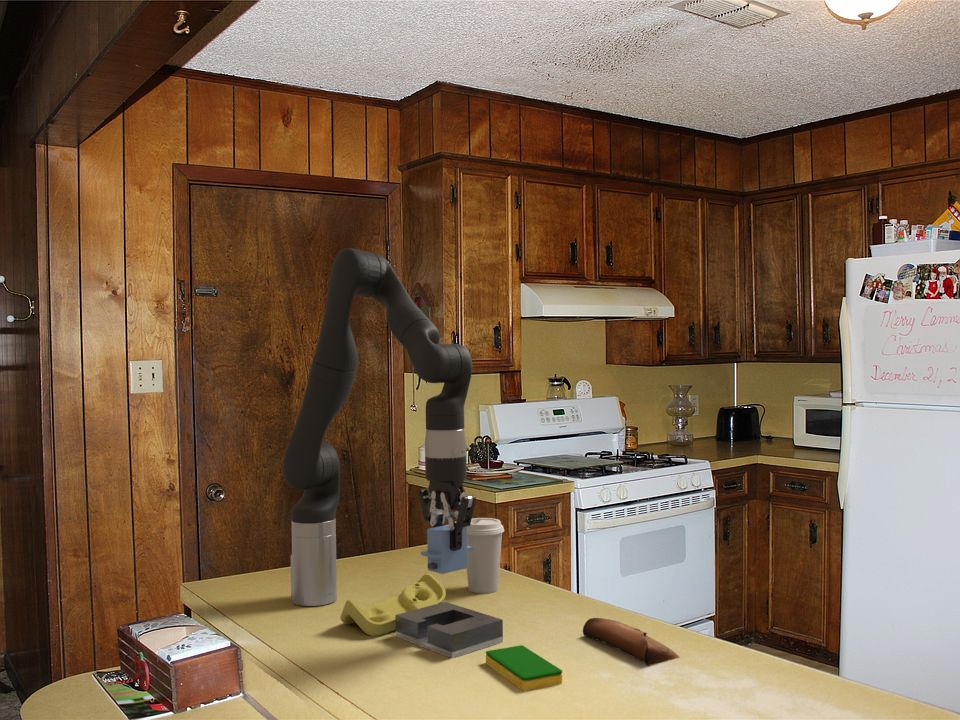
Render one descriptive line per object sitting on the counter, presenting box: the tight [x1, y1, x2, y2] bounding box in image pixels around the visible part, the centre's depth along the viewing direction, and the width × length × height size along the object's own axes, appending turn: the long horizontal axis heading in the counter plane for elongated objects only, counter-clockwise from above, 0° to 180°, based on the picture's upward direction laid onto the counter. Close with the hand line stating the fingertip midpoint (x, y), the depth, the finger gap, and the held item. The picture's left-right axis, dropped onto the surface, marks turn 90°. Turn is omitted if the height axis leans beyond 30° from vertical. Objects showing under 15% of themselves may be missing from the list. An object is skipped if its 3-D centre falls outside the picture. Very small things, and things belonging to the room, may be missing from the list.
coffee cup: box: [466, 517, 505, 594], centre depth 193 cm, size 10×10×15 cm
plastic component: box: [339, 573, 447, 637], centre depth 171 cm, size 20×7×10 cm
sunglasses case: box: [582, 617, 680, 667], centre depth 154 cm, size 18×7×7 cm
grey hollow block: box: [395, 601, 504, 659], centre depth 160 cm, size 16×12×4 cm
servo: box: [420, 524, 473, 575], centre depth 160 cm, size 4×9×8 cm, turn 132°
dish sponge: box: [485, 644, 563, 691], centre depth 143 cm, size 7×14×2 cm, turn 25°
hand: (447, 547), depth 160 cm, fingers closed on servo, 4 cm apart
